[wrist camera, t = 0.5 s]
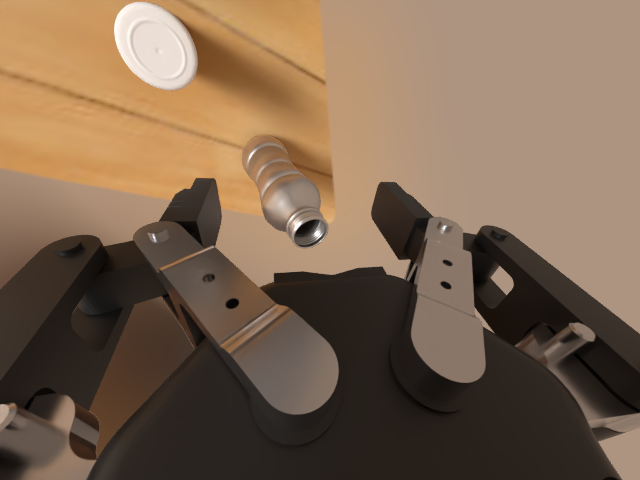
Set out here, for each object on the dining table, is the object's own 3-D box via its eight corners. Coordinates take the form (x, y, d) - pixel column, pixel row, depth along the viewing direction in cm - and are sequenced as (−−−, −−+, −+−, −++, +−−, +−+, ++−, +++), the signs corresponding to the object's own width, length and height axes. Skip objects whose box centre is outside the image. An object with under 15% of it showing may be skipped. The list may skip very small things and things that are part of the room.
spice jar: (168, -1, 23) (159, -16, 14) (201, 54, 26) (213, 72, 17) (126, 23, 23) (91, 24, 14) (166, 75, 26) (158, 104, 17)
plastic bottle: (291, 152, 37) (353, 226, 24) (261, 181, 38) (305, 268, 25) (261, 119, 33) (319, 188, 19) (228, 154, 34) (261, 242, 20)
